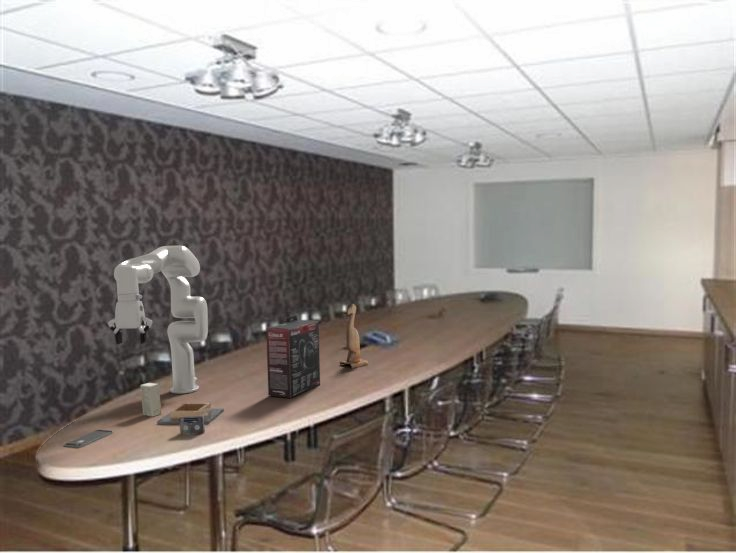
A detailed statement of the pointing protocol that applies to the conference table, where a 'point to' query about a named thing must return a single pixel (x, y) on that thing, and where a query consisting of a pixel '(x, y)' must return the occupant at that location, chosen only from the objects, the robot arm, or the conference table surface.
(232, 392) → the conference table surface
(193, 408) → the collar socket
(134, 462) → the conference table surface
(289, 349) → the headset box
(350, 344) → the bird sculpture
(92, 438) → the phone
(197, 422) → the mini dv tape
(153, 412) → the skincare box
